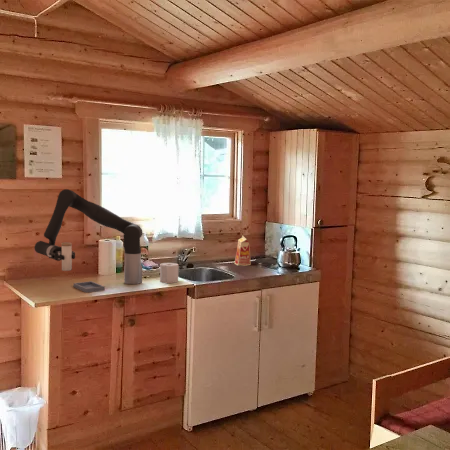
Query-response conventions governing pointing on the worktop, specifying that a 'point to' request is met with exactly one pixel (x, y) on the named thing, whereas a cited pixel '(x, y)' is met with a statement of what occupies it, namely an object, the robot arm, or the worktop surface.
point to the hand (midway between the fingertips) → (68, 257)
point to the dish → (89, 286)
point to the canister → (67, 256)
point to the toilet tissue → (169, 272)
